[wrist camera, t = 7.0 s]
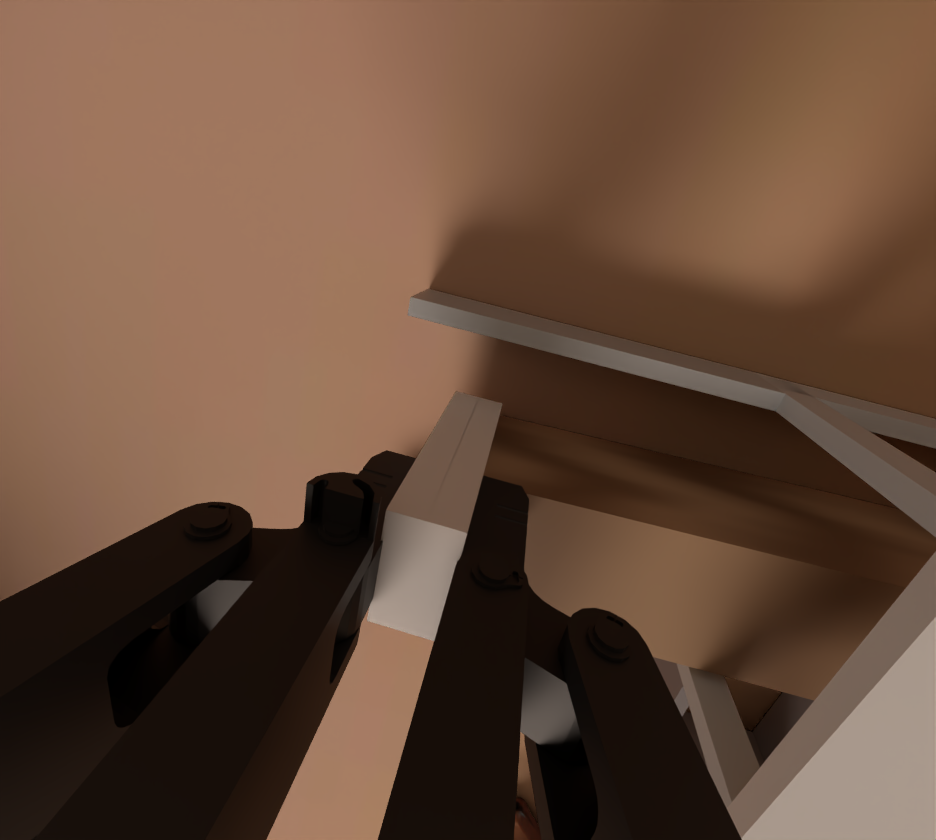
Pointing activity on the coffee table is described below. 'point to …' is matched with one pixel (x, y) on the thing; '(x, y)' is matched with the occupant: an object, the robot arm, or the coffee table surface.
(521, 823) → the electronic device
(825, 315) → the coffee table surface
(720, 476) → the rod
